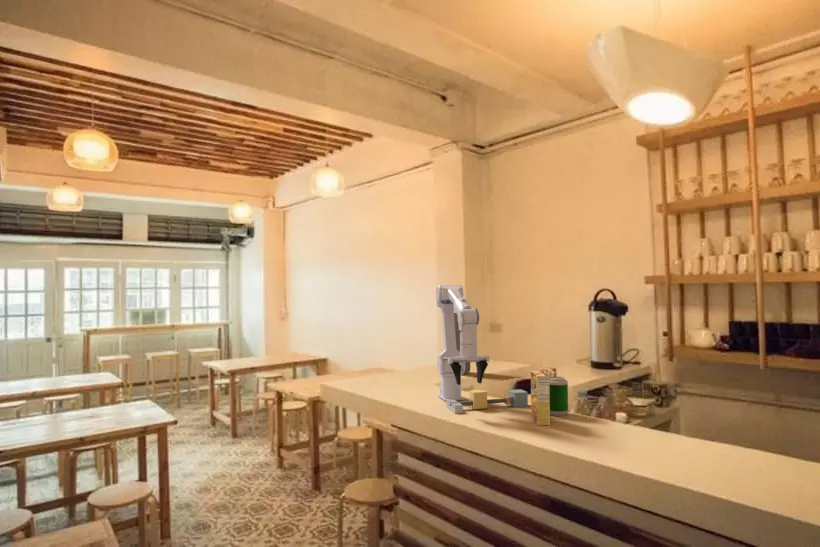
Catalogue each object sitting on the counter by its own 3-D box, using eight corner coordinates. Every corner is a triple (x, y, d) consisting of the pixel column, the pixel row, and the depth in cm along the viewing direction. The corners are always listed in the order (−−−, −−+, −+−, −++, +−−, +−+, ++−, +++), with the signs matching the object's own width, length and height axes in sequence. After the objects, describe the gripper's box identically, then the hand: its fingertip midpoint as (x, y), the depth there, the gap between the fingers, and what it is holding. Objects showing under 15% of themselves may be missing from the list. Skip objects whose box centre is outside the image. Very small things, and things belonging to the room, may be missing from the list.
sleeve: (469, 406, 174) (469, 390, 174) (482, 405, 175) (482, 389, 176) (474, 409, 170) (473, 392, 170) (487, 408, 172) (487, 391, 172)
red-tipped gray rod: (453, 409, 169) (453, 401, 169) (450, 407, 172) (450, 399, 172) (513, 404, 175) (513, 397, 175) (510, 402, 177) (510, 395, 178)
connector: (504, 404, 178) (504, 390, 178) (521, 403, 180) (520, 389, 180) (511, 407, 173) (510, 393, 174) (527, 406, 175) (527, 392, 175)
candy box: (530, 418, 159) (529, 370, 160) (543, 417, 159) (542, 370, 160) (537, 425, 150) (536, 375, 151) (551, 425, 150) (550, 375, 151)
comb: (446, 407, 175) (446, 400, 175) (454, 406, 175) (454, 399, 175) (455, 413, 166) (454, 405, 166) (463, 412, 167) (463, 405, 167)
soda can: (569, 417, 160) (568, 380, 160) (545, 416, 161) (545, 379, 161) (567, 411, 167) (566, 376, 167) (544, 410, 168) (543, 375, 169)
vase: (476, 372, 246) (475, 313, 247) (461, 376, 237) (460, 314, 238) (457, 370, 254) (456, 312, 255) (442, 373, 245) (441, 313, 246)
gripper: (452, 346, 161) (453, 387, 161) (492, 344, 165) (493, 384, 164) (445, 343, 168) (446, 383, 167) (484, 341, 172) (484, 380, 171)
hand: (469, 383), depth 166 cm, fingers open, 7 cm apart
